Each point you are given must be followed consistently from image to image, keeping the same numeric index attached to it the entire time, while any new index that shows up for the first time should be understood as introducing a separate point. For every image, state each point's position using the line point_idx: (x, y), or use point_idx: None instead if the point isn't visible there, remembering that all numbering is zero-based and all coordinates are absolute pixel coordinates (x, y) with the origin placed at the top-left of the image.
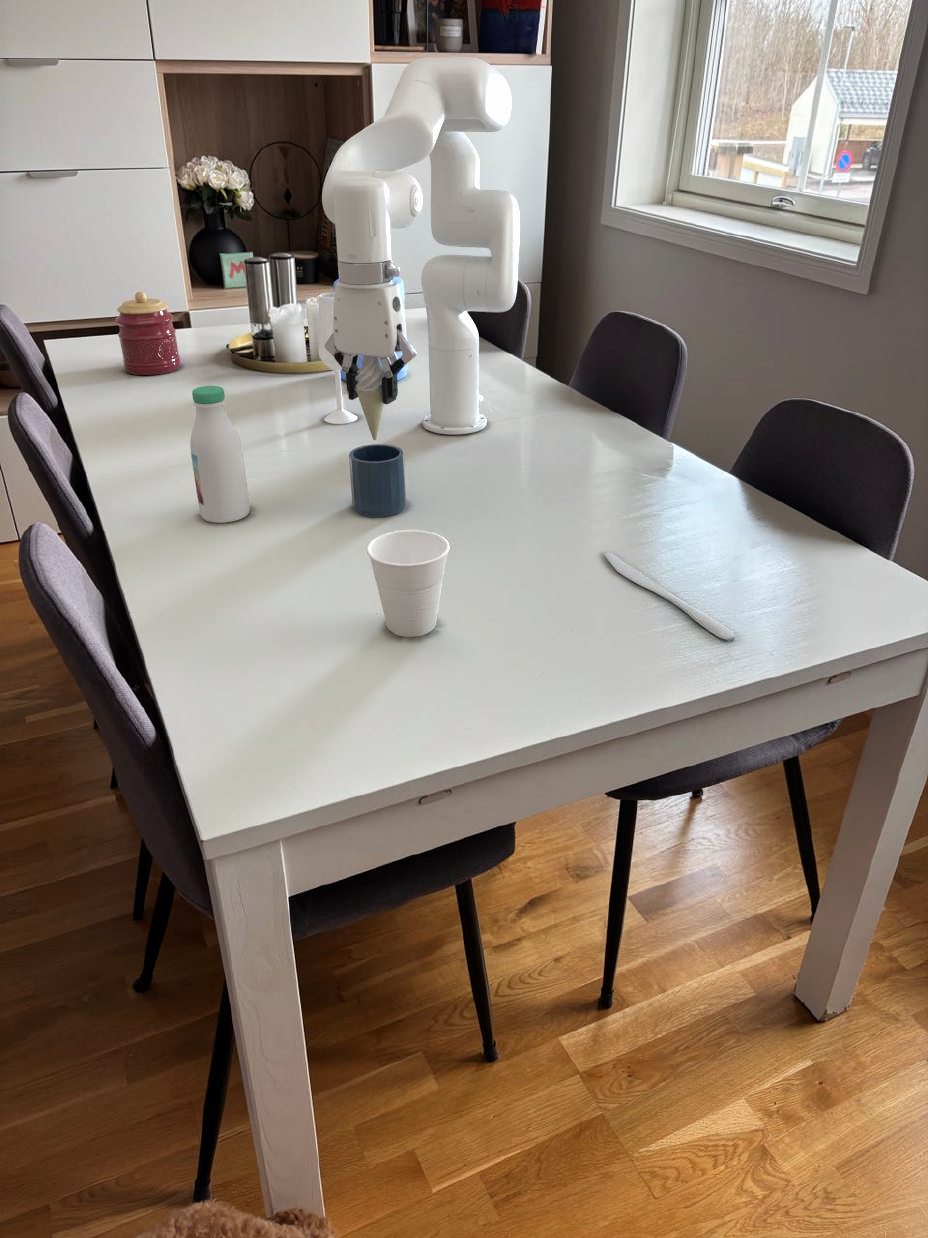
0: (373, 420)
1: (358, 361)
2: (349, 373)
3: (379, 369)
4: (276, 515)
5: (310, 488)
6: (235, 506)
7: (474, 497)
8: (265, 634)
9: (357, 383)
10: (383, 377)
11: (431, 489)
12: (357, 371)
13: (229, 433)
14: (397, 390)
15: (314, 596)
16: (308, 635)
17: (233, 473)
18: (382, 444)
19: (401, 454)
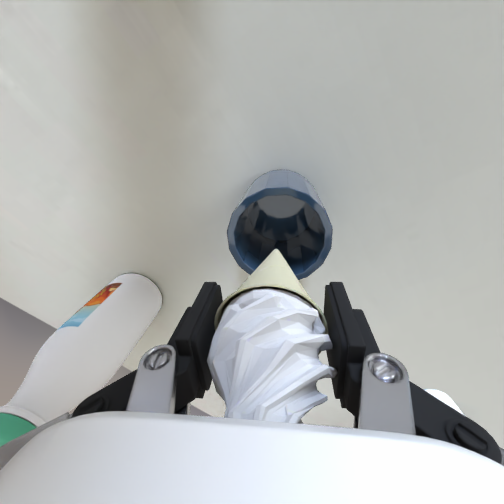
0: (283, 289)
1: (174, 374)
2: (197, 393)
3: (315, 404)
4: (184, 277)
5: (155, 192)
6: (155, 315)
7: (416, 97)
8: (321, 425)
9: (213, 334)
10: (343, 402)
11: (324, 101)
12: (222, 397)
13: (95, 382)
14: (365, 318)
15: (326, 385)
16: (351, 420)
17: (135, 341)
18: (262, 191)
19: (328, 226)
